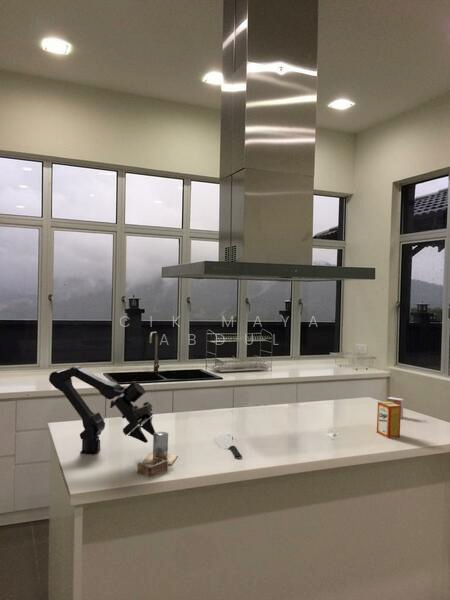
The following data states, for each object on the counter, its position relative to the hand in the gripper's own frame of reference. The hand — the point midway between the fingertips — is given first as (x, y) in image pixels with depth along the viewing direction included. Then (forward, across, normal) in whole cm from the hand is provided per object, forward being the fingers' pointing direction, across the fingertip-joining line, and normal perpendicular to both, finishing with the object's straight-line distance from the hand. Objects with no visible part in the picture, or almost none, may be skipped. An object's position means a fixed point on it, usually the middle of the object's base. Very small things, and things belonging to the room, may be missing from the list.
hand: (151, 438), depth 201 cm
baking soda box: (+75, +67, -66) cm, 120 cm away
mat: (+9, 0, +3) cm, 9 cm away
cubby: (+10, -13, +2) cm, 16 cm away
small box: (+80, +106, -71) cm, 151 cm away
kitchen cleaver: (+25, +25, -13) cm, 37 cm away
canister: (+8, 0, +2) cm, 9 cm away
